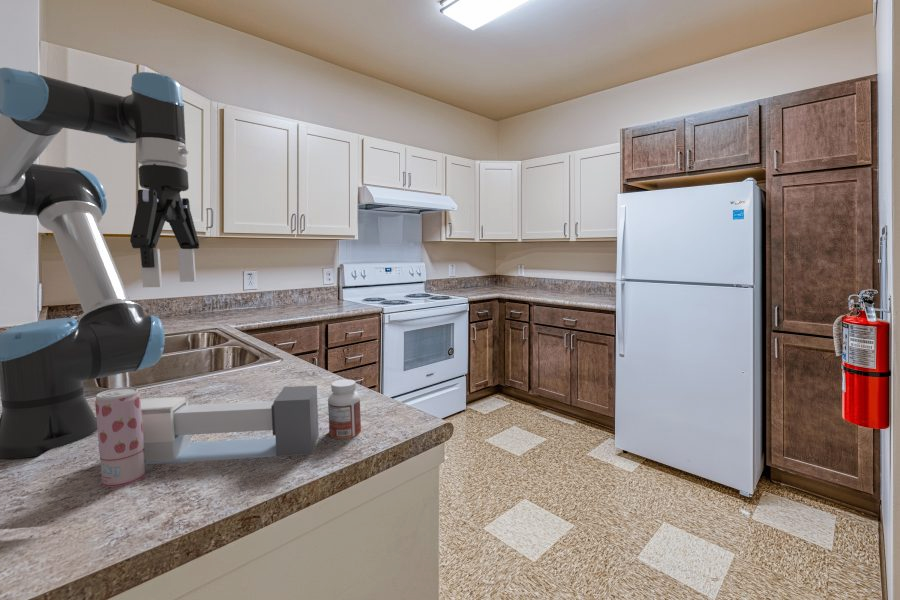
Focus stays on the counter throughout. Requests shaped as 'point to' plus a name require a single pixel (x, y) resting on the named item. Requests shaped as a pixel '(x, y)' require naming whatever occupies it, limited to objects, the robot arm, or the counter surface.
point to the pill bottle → (344, 409)
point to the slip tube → (224, 418)
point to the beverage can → (120, 436)
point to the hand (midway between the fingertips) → (171, 284)
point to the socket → (296, 420)
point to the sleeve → (162, 428)
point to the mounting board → (227, 450)
